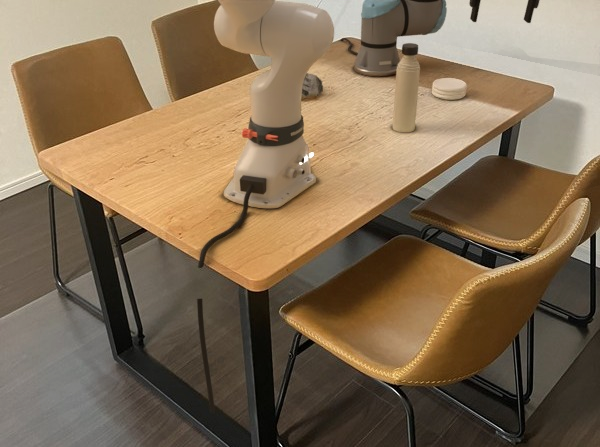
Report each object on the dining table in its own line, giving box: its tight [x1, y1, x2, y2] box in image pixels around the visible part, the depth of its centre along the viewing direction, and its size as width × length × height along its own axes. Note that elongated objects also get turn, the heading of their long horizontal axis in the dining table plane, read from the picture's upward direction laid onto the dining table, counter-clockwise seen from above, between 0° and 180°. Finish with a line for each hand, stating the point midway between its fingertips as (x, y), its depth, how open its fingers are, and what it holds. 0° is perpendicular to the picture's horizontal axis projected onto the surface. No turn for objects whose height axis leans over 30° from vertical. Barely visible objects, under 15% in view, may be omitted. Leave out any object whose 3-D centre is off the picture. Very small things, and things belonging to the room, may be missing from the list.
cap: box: [401, 42, 419, 56], centre depth 154 cm, size 4×4×2 cm
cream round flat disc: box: [431, 77, 468, 101], centre depth 185 cm, size 10×10×4 cm
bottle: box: [392, 54, 421, 133], centre depth 160 cm, size 6×6×22 cm
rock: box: [302, 72, 324, 99], centre depth 187 cm, size 15×10×7 cm
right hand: (500, 21), depth 153 cm, fingers open, 13 cm apart
